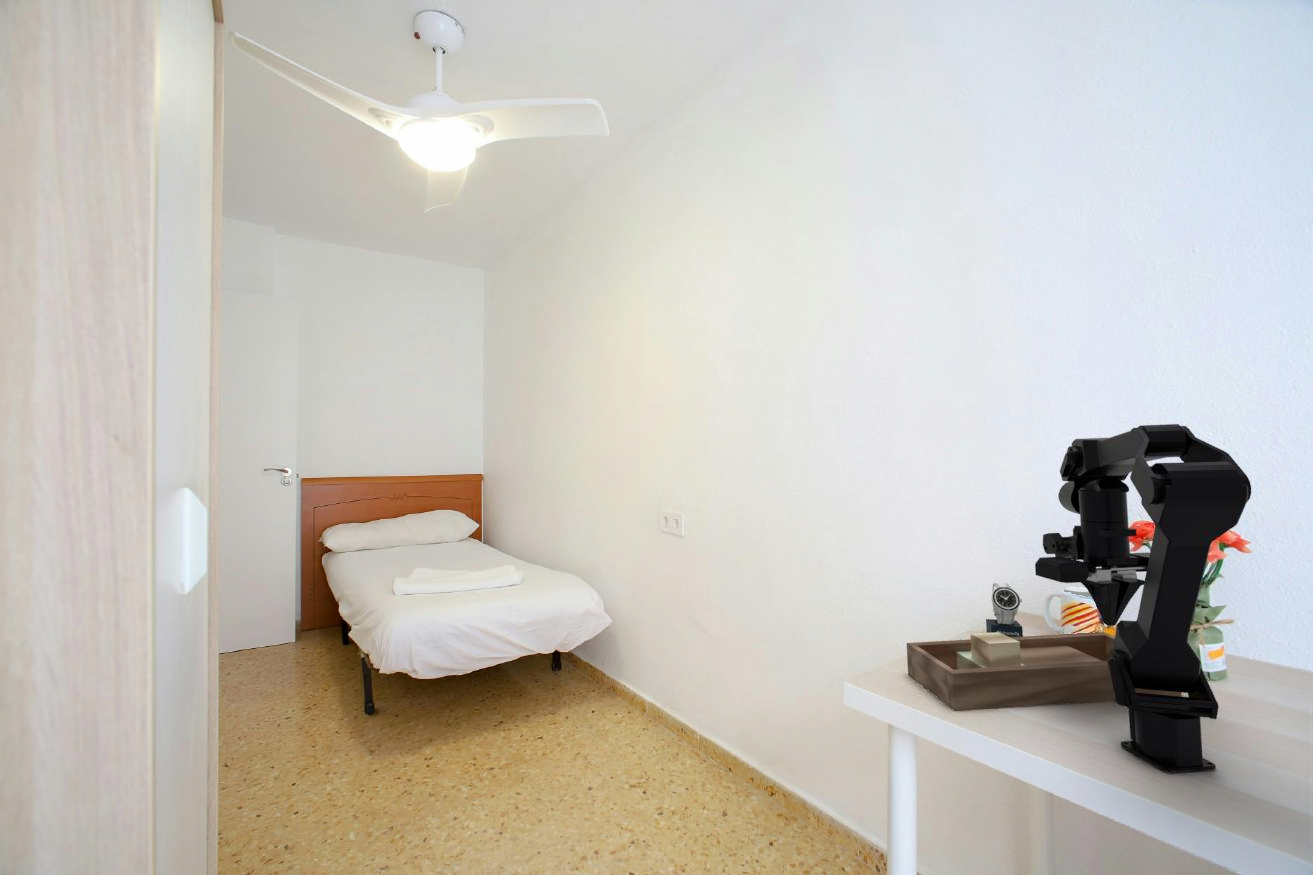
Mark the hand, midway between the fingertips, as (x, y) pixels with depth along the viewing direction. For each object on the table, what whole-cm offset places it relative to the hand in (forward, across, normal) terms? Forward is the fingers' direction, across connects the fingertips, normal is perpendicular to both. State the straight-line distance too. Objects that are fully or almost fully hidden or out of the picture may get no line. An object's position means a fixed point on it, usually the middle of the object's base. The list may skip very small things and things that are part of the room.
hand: (1109, 624), depth 85 cm
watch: (+12, -4, -30) cm, 33 cm away
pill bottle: (+12, -18, -28) cm, 35 cm away
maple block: (+8, +12, -9) cm, 17 cm away
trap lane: (+12, +6, -8) cm, 16 cm away
